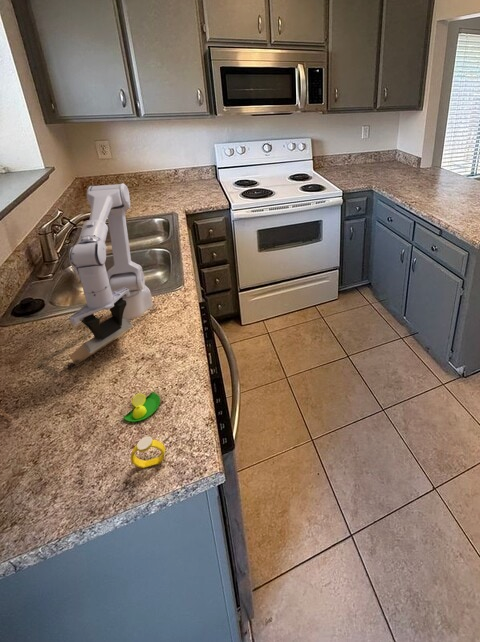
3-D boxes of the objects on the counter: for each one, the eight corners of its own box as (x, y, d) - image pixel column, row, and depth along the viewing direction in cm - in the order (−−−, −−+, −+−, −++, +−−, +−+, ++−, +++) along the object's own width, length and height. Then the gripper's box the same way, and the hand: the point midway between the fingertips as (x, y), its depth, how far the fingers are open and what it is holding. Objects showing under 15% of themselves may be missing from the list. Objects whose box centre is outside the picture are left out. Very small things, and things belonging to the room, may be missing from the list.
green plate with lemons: (117, 409, 84) (115, 400, 83) (151, 388, 89) (149, 379, 88) (131, 430, 79) (128, 420, 78) (166, 406, 84) (164, 397, 83)
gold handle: (68, 369, 96) (67, 365, 95) (120, 335, 108) (119, 332, 108) (71, 370, 95) (70, 367, 95) (123, 336, 108) (122, 333, 107)
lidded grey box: (75, 365, 96) (64, 349, 96) (117, 338, 107) (107, 324, 107) (93, 351, 89) (81, 334, 89) (135, 323, 99) (125, 308, 99)
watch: (168, 453, 74) (163, 432, 72) (165, 466, 71) (160, 445, 69) (136, 460, 72) (130, 439, 70) (133, 474, 70) (126, 452, 68)
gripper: (76, 306, 82) (90, 353, 87) (133, 277, 94) (142, 320, 99) (59, 299, 85) (73, 345, 90) (115, 271, 97) (126, 313, 102)
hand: (108, 331), depth 95 cm, fingers closed on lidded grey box, 5 cm apart
